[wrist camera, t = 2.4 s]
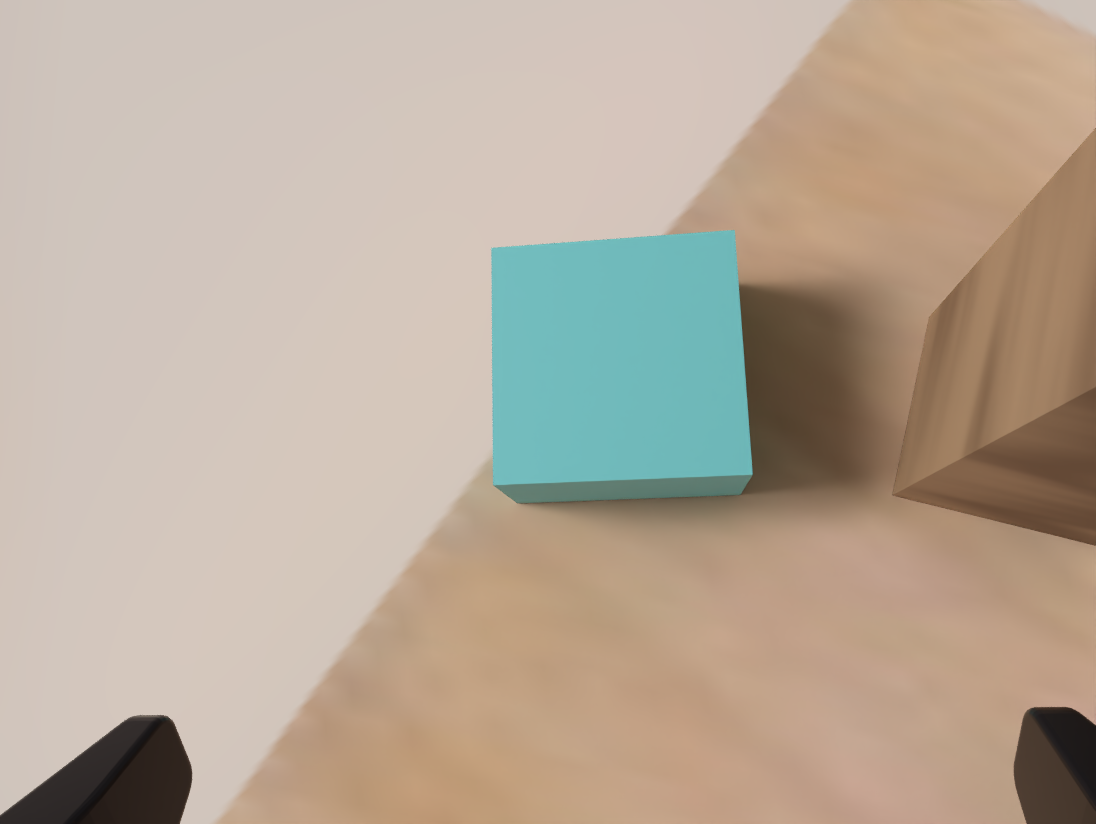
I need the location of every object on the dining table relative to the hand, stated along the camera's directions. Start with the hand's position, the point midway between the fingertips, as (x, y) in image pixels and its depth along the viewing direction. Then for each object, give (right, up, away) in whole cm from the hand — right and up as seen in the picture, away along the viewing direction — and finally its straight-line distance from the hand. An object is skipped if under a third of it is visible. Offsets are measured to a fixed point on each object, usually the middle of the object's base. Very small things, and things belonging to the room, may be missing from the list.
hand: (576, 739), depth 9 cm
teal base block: (+2, +4, +15) cm, 16 cm away
